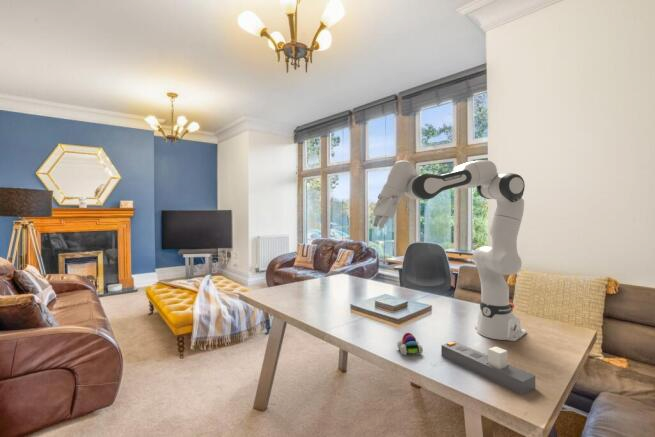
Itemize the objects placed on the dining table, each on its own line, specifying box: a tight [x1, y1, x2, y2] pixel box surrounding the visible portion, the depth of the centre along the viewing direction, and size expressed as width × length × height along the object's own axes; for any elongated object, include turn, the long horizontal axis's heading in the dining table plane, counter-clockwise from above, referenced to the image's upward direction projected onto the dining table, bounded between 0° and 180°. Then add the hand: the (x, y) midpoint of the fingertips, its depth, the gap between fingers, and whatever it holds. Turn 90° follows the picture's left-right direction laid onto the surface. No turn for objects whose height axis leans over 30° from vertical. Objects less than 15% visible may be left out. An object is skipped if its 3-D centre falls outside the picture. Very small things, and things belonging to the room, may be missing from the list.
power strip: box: [440, 340, 536, 396], centre depth 111 cm, size 7×30×6 cm, turn 30°
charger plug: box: [487, 345, 508, 370], centre depth 106 cm, size 4×4×9 cm
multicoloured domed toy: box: [397, 332, 424, 356], centre depth 127 cm, size 8×10×7 cm
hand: (377, 226), depth 133 cm, fingers open, 8 cm apart
